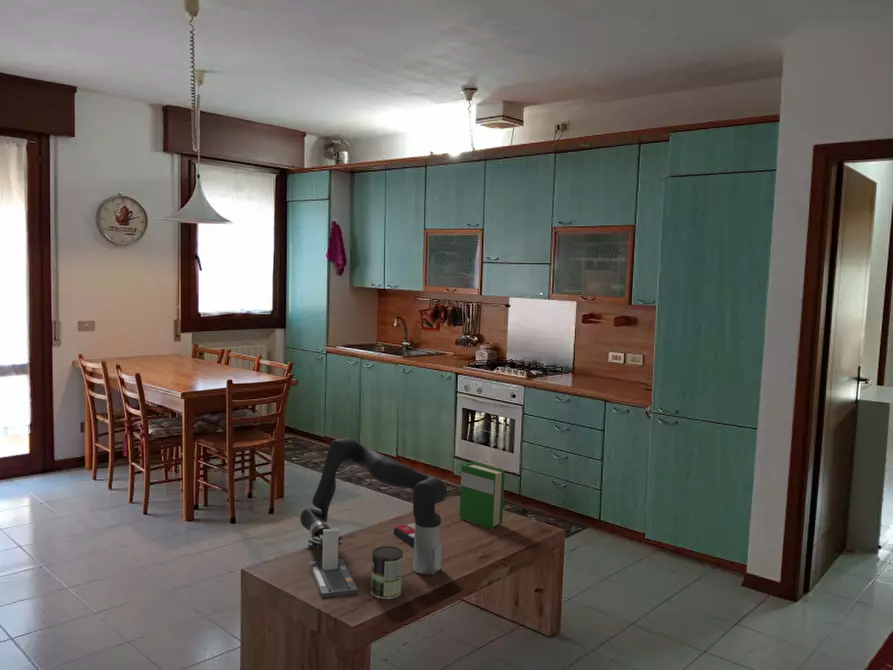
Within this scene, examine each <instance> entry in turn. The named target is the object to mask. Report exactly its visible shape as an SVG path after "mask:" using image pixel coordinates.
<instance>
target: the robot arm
mask: <svg viewBox="0 0 893 670" xmlns="http://www.w3.org/2000/svg"><path fill="white" fill-rule="evenodd" d="M350 462H351V463H355V464H358V465H360V466H362V467H364V468H365V469H366V470H367V472H368V473H369V474H370V476H372V477H373V478H374V479H375V480H378V481H379V482H382V483H384V484H385V485H388V486H392V487H398V488H406V489H410V490H413V494H412V514H413V516H414V523H415V537H414V547H413V563H412V564H413V566H412V567H413V568H412V569H413V571H414V572H416V573H417V574H420V575H433V576H434V575H435V574H436V573H438V572H439V571H440V570H441V568H442V567H441V566H442V551H443V550H442V548H443V547H442V545H443V544H442V543H441V524H442V523H441V520H442V516H441V515H440V514H439V513H437V512H436V504H438V503H441V502H442V501H444V500H445V498H446V497H447V495H448V488H447V485H446V484H445V482H443V480H442V479H440V478H438V477H436V476H432V475H429V474H427V473H425V472H421V471H419V470H415V469H413V468H412V467H409V466H408V465H406V464H404V463H401V462H400V461H397V460H395V459H393V458H392V457H389V456H387V455H384V454H382V453H380V452H378V451H375V450H373V449H370V448H369V447H367V446H366V445H364V444H362V443H360V442H359V441H357V440H356V439H354V438H351V437H344V438H336V439H335V440H332V441H331V442H330V444H329V446H328V449H327V453H326V457H325V460H324V466H323V469H322V473H321V477H320V480H319V482H318V483H319V484H318V485H317V488H316V490H315V493H314V495H313V497H312V500H311V501H312V505H313V506H314V507H315V508H317V509H315V508H313V507H312V508H311V507H308V508H304V509H303V510H302V512H301V513H300V517H299V518H300V523H301V525H302V526H303V527H304V528H305V529H306V530H308V531H309V534H310V537H311V538H308V540H307V541H308V543H307V545H308V546H307V547H308V548H310V549H315V550H318V551H321V550H323V529H331V527H330V525H329V524H328V523H327V522H328V515H329V509H330V506H331V502H332V500H333V498H334V496H335V493H336V487H337V481H336V476H337V472H338V469H339V468H340V466H341V465H342V463H343V464H345V463H350ZM319 509H320V510H319ZM342 543H343V537H342V536H338V547H340V545H342Z"/></svg>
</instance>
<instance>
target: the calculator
mask: <svg viewBox="0 0 893 670" xmlns="http://www.w3.org/2000/svg"><path fill="white" fill-rule="evenodd" d="M394 534H395V536H396V537H397V536H398V537H397V538H399V539H400V538H401V539H400V540H402V541H403V540H404V541H403V542H405V543H406V544H407V543H408V544H407V545H409V546H410V545H411V546H410V547H412V546H414V537H415V522H413V523H407V524H403V525H398V526H395V527H394V528H393V535H394Z"/></svg>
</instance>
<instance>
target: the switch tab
mask: <svg viewBox="0 0 893 670" xmlns="http://www.w3.org/2000/svg"><path fill="white" fill-rule="evenodd" d="M339 533H340V529H339V528H338V527H337V528H330V529H323V549H322V560H323V562H322V568H323V570H333V569H338V559H339V546H338V537H340V536H339Z"/></svg>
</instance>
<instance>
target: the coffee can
mask: <svg viewBox="0 0 893 670" xmlns="http://www.w3.org/2000/svg"><path fill="white" fill-rule="evenodd" d="M403 555H404V550H402V549H401V548H399V547H396V546H392V545H391V546H390V545H383V546H382V545H381V546H378V547H375V548H374V549H372V551H371V557H372V560H371V584H370V585H371V586H370V587H371V589H370V594H371V595H372V596H373V597H374V596H375V597H374V598H376V597H377V599H380V598H382V599H381V600H392V599H396V598H398V597H400V596H401V594H402V573H403Z"/></svg>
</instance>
